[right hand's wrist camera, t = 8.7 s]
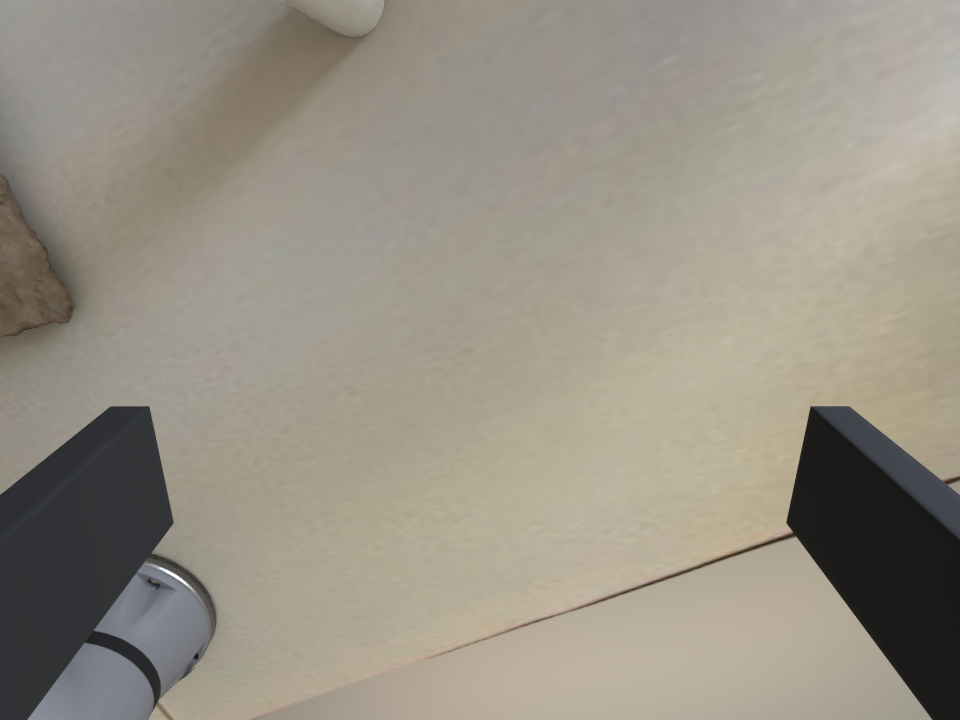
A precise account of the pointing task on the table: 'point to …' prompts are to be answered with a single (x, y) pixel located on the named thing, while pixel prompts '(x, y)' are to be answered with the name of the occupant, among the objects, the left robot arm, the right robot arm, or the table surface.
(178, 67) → the table surface
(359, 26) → the bottle
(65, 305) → the stone
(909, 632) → the right robot arm
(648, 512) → the table surface
